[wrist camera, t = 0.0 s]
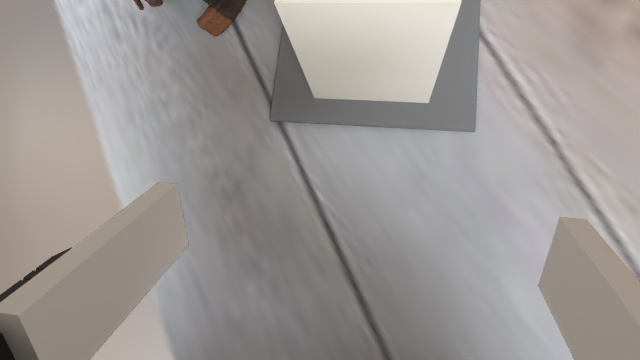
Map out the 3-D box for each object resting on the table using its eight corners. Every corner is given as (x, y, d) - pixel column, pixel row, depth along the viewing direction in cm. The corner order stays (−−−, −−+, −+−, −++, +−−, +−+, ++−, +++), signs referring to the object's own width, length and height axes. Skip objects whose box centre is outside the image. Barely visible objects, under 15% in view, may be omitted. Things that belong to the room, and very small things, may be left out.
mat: (473, 132, 28) (475, 130, 28) (271, 121, 31) (269, 119, 31) (483, -114, 32) (485, -118, 32) (302, -105, 35) (301, -109, 35)
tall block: (428, 103, 29) (461, 2, 17) (314, 98, 31) (274, 2, 19) (431, 55, 30) (465, -72, 18) (319, 52, 31) (284, -66, 20)
